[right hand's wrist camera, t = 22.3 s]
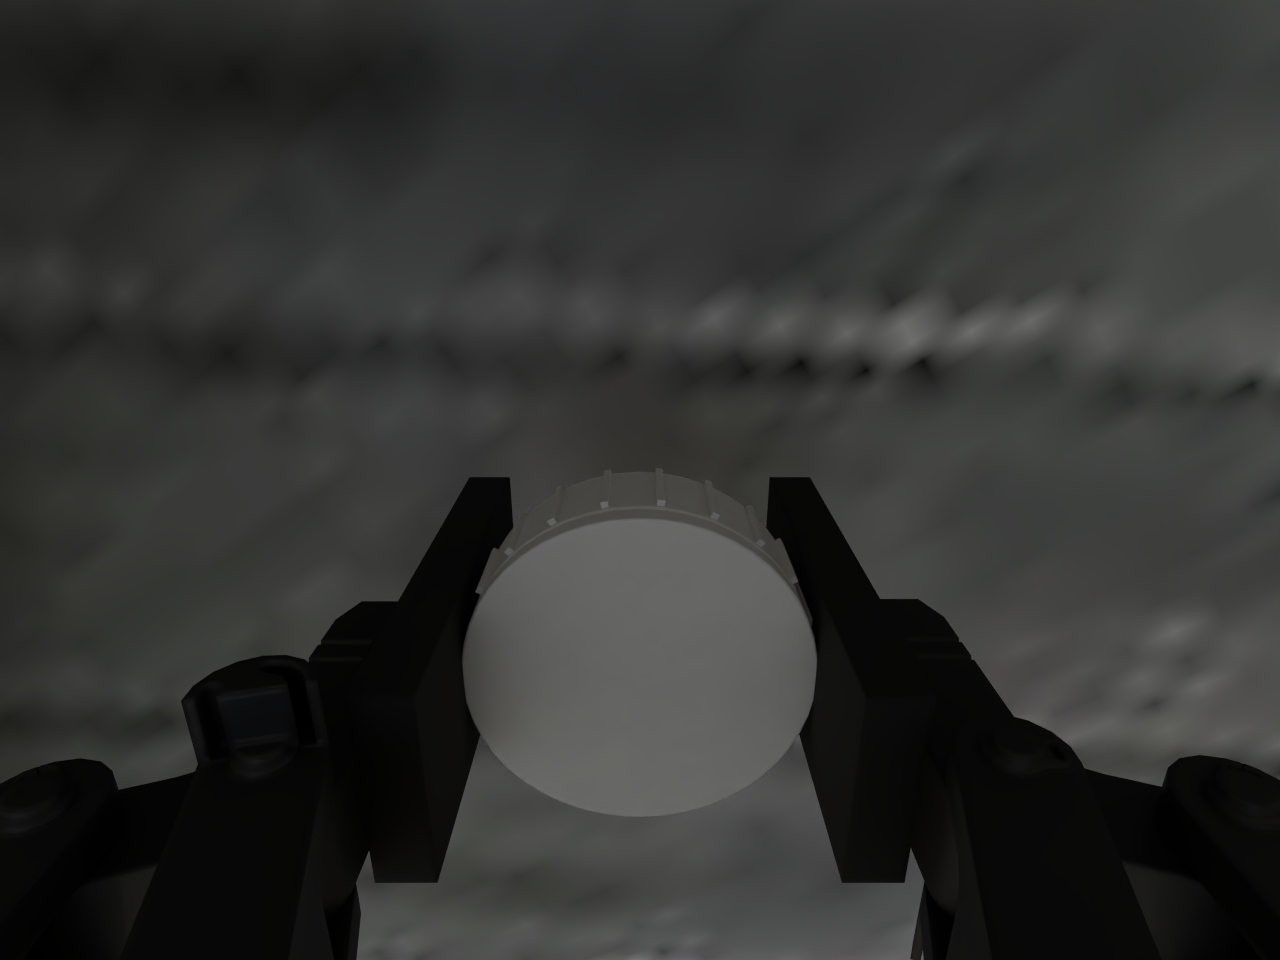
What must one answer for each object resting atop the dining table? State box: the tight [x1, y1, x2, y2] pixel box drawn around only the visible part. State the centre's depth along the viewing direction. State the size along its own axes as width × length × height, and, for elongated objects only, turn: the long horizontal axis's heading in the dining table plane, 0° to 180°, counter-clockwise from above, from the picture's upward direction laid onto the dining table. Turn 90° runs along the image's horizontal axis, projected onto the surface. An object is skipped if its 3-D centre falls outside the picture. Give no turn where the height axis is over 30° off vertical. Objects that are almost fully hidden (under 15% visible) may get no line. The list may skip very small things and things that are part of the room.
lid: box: [462, 468, 817, 817], centre depth 11 cm, size 5×5×2 cm
